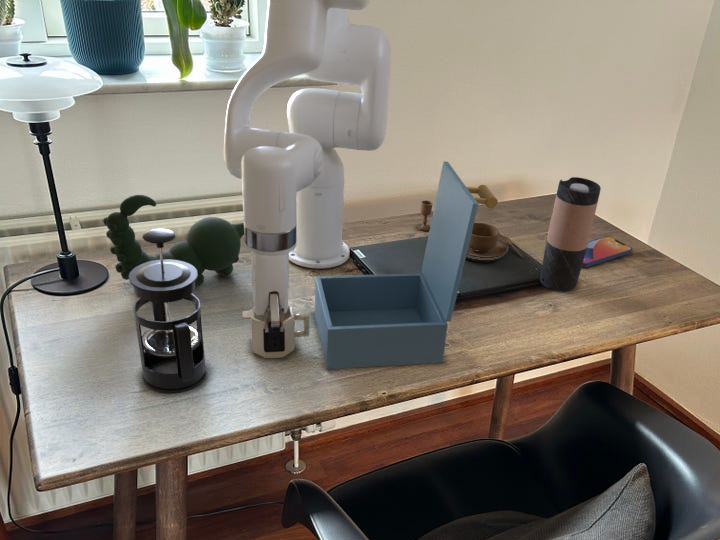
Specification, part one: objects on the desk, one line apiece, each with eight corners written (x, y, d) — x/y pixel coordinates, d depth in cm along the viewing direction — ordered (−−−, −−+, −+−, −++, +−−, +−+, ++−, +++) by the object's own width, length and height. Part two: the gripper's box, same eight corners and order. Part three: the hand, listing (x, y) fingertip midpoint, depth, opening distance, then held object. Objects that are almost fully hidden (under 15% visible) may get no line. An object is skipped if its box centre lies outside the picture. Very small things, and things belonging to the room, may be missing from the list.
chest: (326, 369, 114) (327, 329, 110) (314, 313, 127) (315, 276, 123) (442, 362, 118) (448, 324, 114) (419, 309, 131) (423, 273, 127)
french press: (132, 364, 111) (110, 223, 98) (192, 348, 116) (179, 211, 103) (158, 407, 104) (138, 260, 91) (221, 388, 108) (211, 246, 95)
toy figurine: (136, 317, 125) (268, 273, 137) (110, 215, 113) (257, 177, 125) (117, 293, 131) (245, 252, 143) (91, 193, 120) (232, 158, 131)
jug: (245, 359, 115) (243, 325, 111) (243, 336, 120) (242, 303, 116) (311, 356, 117) (311, 322, 113) (306, 333, 122) (307, 301, 119)
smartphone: (558, 254, 155) (559, 249, 154) (607, 239, 162) (608, 235, 161) (583, 269, 150) (584, 264, 149) (633, 253, 157) (634, 249, 156)
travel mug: (577, 295, 140) (602, 195, 129) (537, 288, 141) (558, 189, 130) (577, 276, 147) (601, 180, 135) (539, 270, 148) (559, 174, 136)
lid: (473, 203, 103) (513, 206, 105) (443, 161, 116) (479, 164, 118) (445, 321, 114) (482, 322, 115) (421, 270, 127) (454, 272, 128)
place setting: (450, 268, 145) (454, 241, 142) (413, 226, 160) (415, 200, 157) (528, 260, 151) (533, 233, 148) (485, 220, 166) (489, 195, 163)
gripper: (242, 210, 113) (246, 311, 124) (246, 263, 100) (251, 371, 110) (291, 210, 115) (291, 309, 125) (302, 261, 101) (301, 368, 111)
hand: (272, 337), depth 117 cm, fingers closed on jug, 6 cm apart
